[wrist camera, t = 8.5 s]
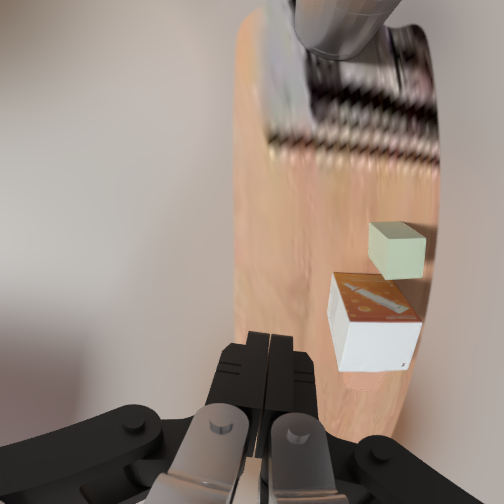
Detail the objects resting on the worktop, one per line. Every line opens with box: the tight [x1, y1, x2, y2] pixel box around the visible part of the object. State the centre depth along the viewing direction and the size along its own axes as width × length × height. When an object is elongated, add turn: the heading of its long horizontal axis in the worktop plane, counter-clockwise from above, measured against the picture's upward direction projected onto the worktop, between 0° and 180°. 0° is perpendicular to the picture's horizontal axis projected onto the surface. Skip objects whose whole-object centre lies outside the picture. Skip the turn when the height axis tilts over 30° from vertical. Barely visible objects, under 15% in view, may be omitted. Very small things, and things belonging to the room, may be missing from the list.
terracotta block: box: [342, 371, 388, 392], centre depth 39 cm, size 4×4×8 cm
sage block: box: [368, 221, 426, 280], centre depth 34 cm, size 4×4×8 cm
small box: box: [327, 272, 423, 372], centre depth 34 cm, size 8×6×13 cm
